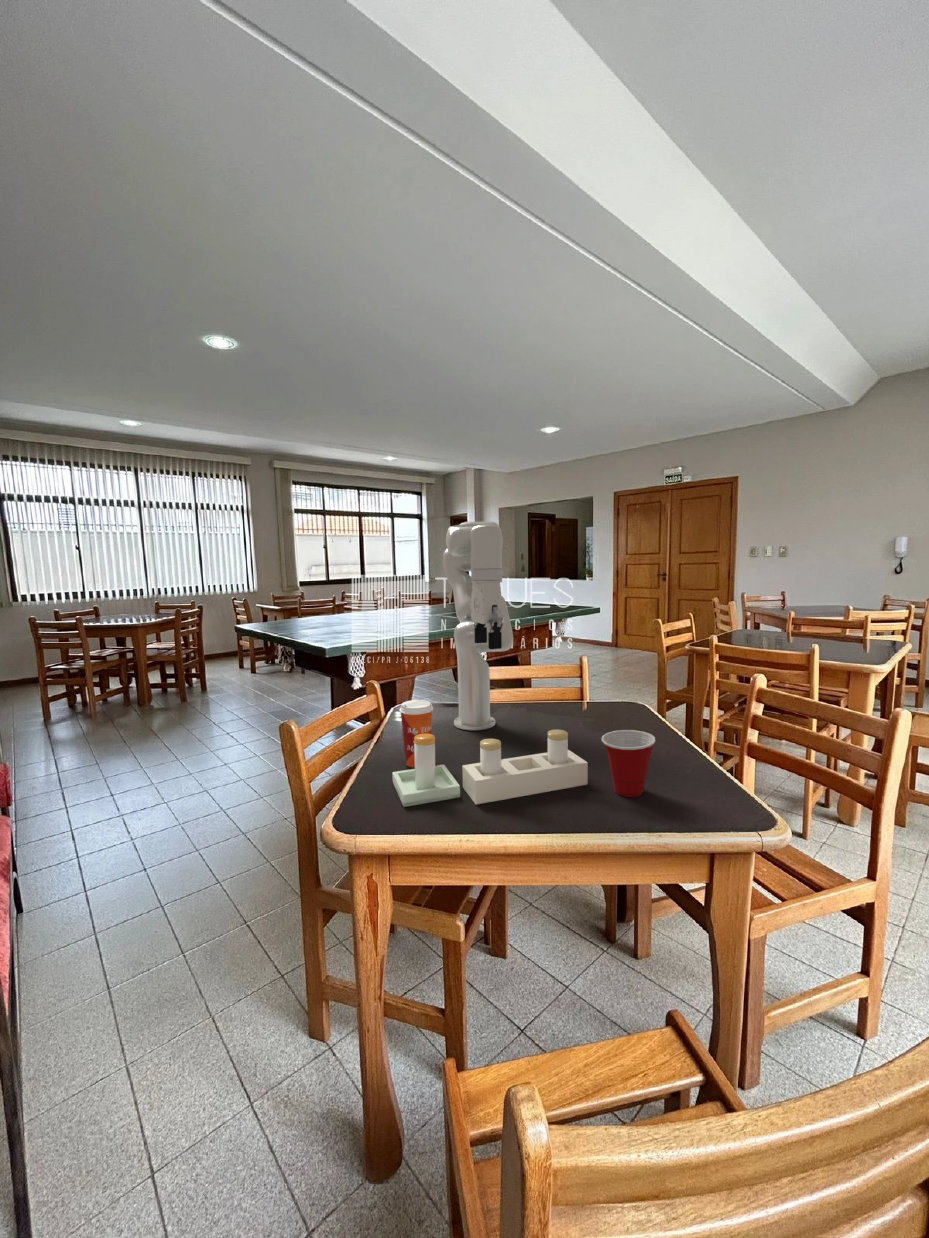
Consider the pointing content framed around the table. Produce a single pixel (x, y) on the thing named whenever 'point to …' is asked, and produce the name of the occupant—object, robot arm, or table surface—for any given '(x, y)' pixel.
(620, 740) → the plastic cup
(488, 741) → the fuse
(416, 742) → the white and orange cylinder
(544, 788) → the holder
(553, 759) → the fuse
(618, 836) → the table surface
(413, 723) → the coffee cup
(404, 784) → the tray
